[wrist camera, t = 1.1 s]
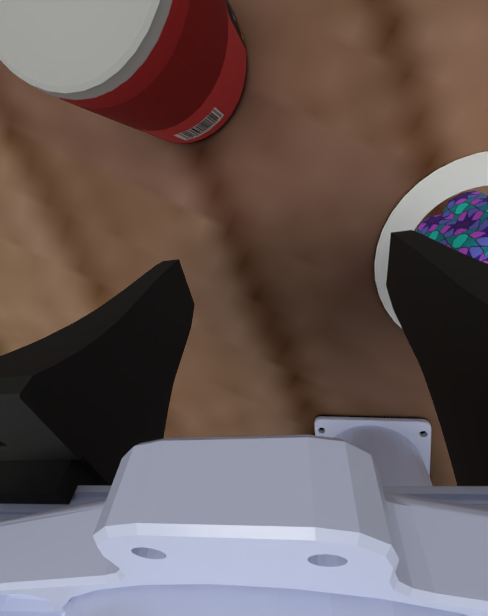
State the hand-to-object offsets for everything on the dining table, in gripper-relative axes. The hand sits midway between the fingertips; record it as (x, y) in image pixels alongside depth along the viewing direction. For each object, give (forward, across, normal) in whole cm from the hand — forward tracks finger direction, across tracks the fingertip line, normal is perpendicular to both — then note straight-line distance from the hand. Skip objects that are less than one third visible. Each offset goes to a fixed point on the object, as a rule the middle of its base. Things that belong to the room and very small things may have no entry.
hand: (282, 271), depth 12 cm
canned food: (+15, +5, -6) cm, 17 cm away
